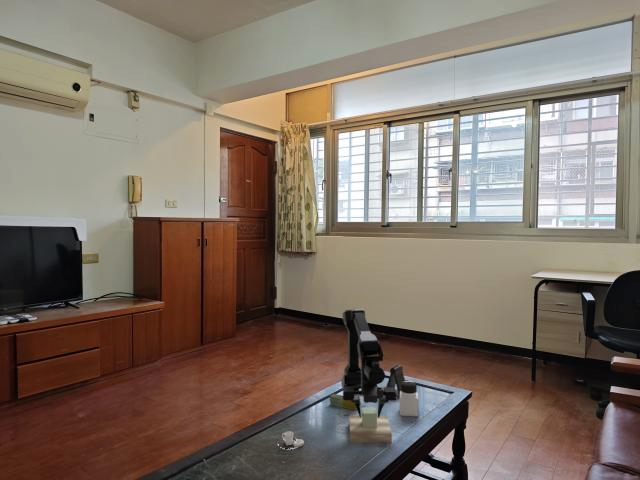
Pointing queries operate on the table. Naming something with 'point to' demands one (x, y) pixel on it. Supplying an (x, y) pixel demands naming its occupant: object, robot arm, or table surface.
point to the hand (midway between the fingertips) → (369, 417)
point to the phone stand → (396, 378)
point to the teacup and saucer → (291, 440)
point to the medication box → (341, 402)
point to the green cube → (369, 417)
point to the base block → (370, 430)
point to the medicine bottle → (408, 399)
